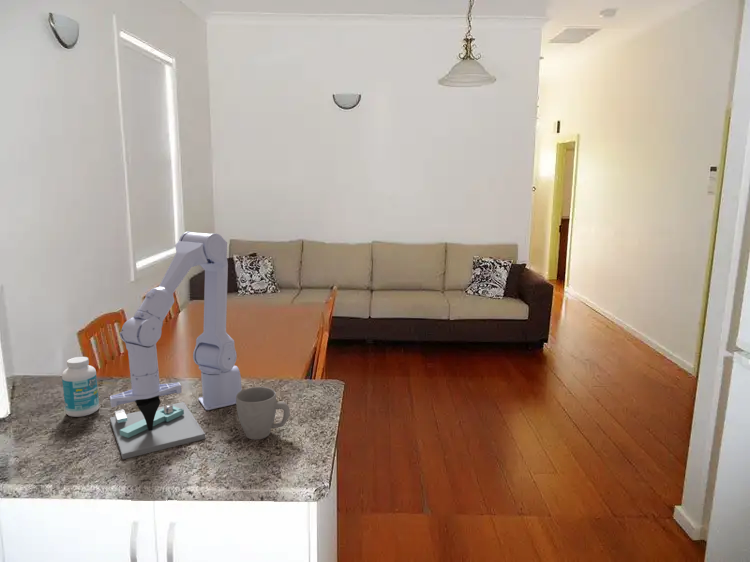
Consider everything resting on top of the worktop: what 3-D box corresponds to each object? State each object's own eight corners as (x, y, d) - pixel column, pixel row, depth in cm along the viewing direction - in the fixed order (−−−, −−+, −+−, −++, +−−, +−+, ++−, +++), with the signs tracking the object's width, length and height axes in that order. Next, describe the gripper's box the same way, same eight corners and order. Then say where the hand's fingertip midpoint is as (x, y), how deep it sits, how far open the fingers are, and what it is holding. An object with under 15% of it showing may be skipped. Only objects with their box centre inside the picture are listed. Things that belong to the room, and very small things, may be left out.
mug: (231, 441, 123) (229, 401, 121) (246, 423, 131) (244, 385, 129) (284, 446, 121) (282, 404, 119) (295, 427, 129) (294, 388, 127)
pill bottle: (76, 420, 133) (70, 367, 130) (59, 413, 136) (53, 361, 134) (106, 409, 139) (100, 358, 136) (88, 402, 143) (83, 352, 140)
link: (170, 409, 135) (169, 405, 135) (184, 414, 133) (183, 409, 132) (117, 433, 123) (116, 428, 123) (131, 439, 121) (130, 434, 120)
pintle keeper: (170, 414, 136) (169, 399, 135) (175, 422, 131) (173, 407, 131) (115, 426, 130) (114, 411, 129) (119, 435, 125) (117, 419, 124)
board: (184, 406, 141) (183, 401, 140) (205, 438, 124) (205, 433, 124) (110, 422, 132) (109, 417, 132) (122, 459, 115) (122, 454, 115)
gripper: (174, 360, 129) (179, 414, 131) (105, 372, 121) (112, 429, 124) (181, 369, 123) (186, 426, 126) (109, 382, 115) (116, 442, 118)
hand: (149, 428), depth 124 cm, fingers closed, pressing on link
